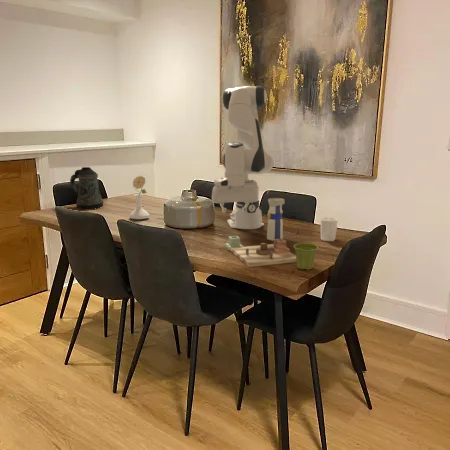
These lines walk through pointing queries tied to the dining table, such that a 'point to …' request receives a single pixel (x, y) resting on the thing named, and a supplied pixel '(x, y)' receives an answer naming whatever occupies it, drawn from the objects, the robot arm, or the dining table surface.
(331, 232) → the white cup
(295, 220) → the dining table surface
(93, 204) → the beer stein
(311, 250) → the plant pot
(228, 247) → the pale green pipe fitting
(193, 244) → the dining table surface
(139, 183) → the flower in vase
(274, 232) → the water bottle
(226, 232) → the dining table surface
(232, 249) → the plate
